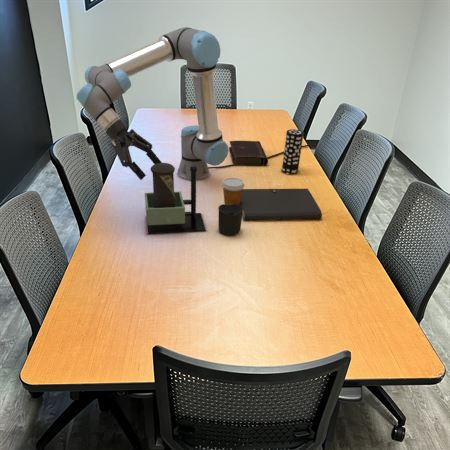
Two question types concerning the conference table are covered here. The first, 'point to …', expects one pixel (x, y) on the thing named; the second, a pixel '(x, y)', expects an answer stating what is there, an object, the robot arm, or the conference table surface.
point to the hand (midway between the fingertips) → (151, 171)
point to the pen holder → (230, 219)
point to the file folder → (279, 204)
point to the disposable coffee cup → (232, 190)
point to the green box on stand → (174, 213)
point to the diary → (248, 153)
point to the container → (163, 185)
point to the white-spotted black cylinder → (292, 151)
